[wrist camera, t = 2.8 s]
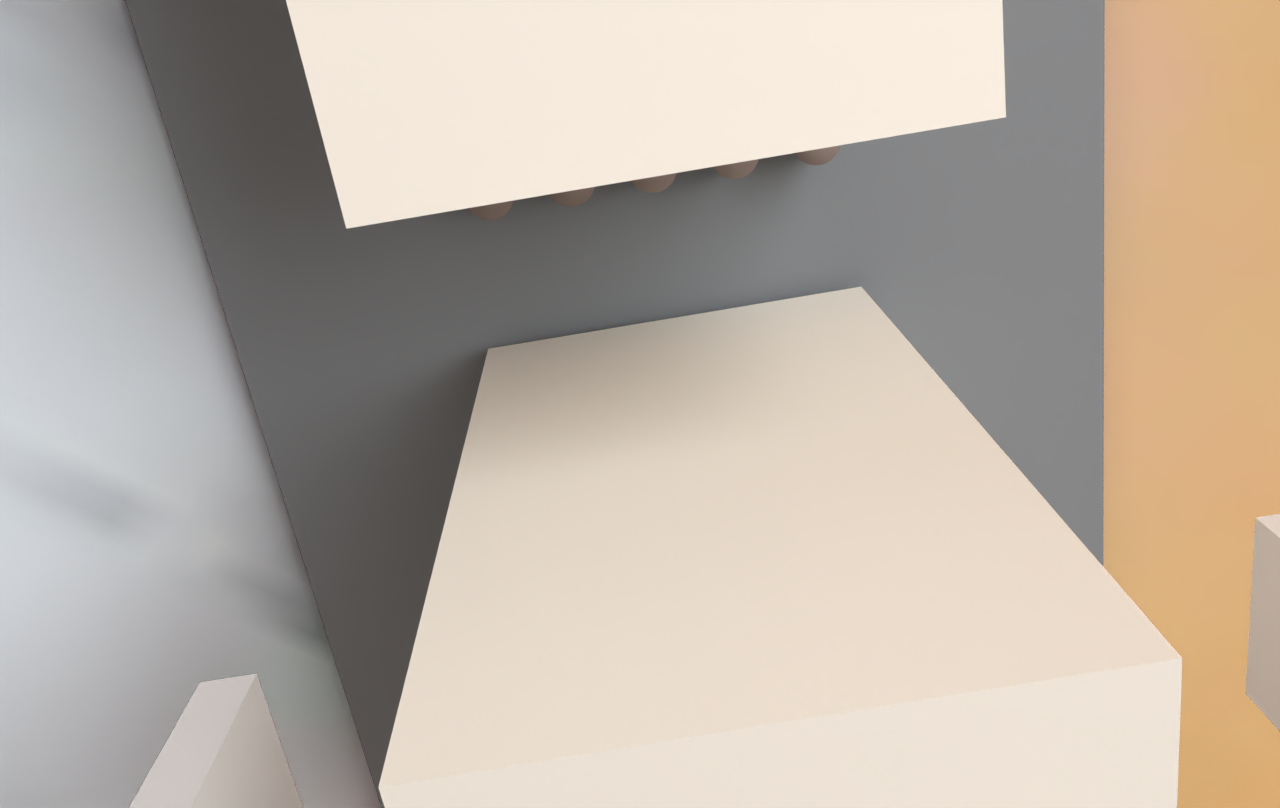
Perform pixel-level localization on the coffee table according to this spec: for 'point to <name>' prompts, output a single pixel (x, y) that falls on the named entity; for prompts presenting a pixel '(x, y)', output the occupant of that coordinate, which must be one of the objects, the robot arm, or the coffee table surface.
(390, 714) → the mat
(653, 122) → the cream long box
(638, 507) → the box with pink panel
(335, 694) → the coffee table surface
